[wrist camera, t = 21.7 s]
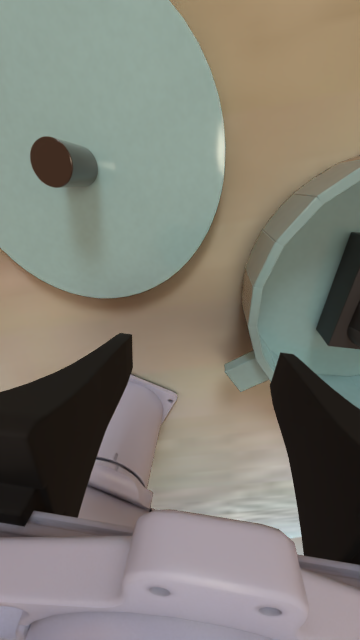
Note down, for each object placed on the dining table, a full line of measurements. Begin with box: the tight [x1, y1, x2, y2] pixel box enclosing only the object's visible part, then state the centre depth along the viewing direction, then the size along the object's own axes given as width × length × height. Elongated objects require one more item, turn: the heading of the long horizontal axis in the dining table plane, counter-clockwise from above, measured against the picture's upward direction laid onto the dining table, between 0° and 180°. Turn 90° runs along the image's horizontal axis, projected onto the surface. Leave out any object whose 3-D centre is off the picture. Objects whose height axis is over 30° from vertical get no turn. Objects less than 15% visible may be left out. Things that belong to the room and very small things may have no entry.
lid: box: [0, 0, 226, 298], centre depth 16 cm, size 19×19×5 cm
